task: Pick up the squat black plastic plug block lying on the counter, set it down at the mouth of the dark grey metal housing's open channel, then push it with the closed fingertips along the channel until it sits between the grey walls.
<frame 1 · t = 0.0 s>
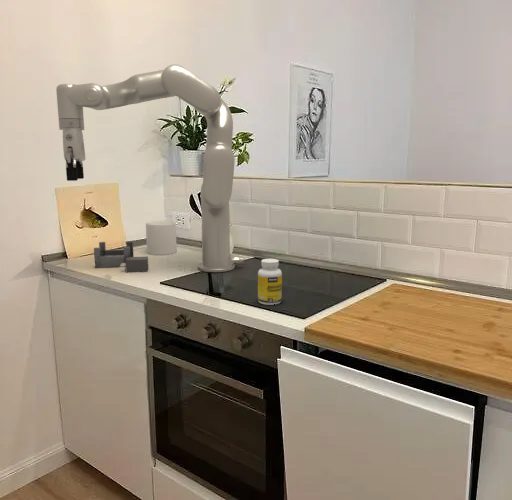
hand: (75, 179, 164), 31 cm above the countertop, fingers open, 9 cm apart
plug: (137, 271, 173), on the countertop
housing: (115, 263, 184), on the countertop
pill bottle: (269, 302, 138), on the countertop
cup: (162, 252, 204), on the countertop
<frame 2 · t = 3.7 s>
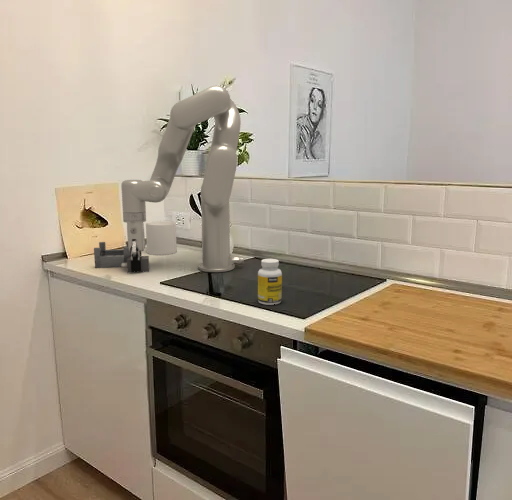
hand: (137, 269, 173), 1 cm above the countertop, fingers closed on plug, 5 cm apart
plug: (138, 270, 173), on the countertop, touching gripper
everything else where it was.
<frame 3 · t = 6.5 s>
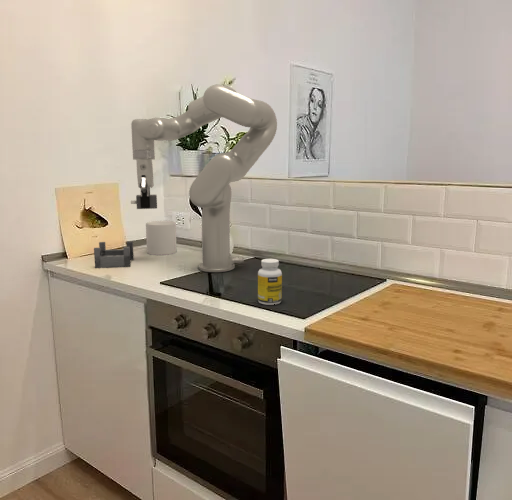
hand: (146, 206, 181), 21 cm above the countertop, fingers closed on plug, 5 cm apart
plug: (147, 207, 182), point 20 cm above the countertop, touching gripper
everything else where it was.
when the fingers open (2 cm above the countertop, at t = 9.6 s): plug drops 1 cm, on the countertop.
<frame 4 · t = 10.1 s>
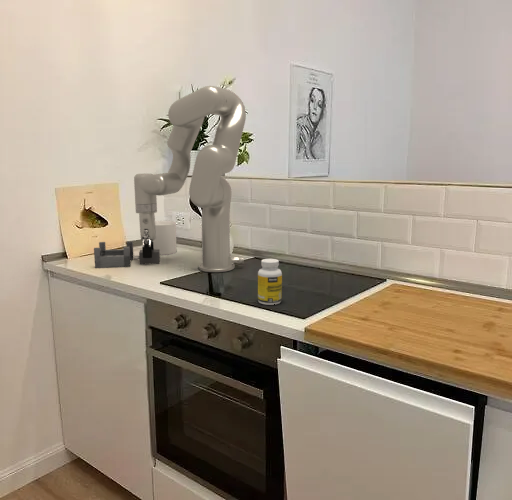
hand: (148, 255, 185), 3 cm above the countertop, fingers open, 9 cm apart
plug: (150, 263, 186), on the countertop
everything else where it was.
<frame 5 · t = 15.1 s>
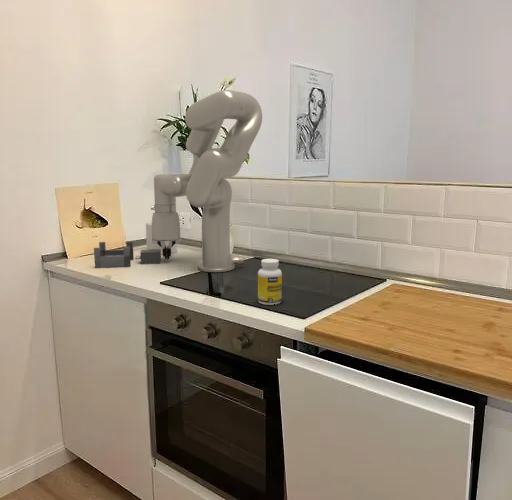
hand: (167, 258, 186), 1 cm above the countertop, fingers closed
plug: (151, 262, 186), on the countertop, touching gripper
everything else where it was.
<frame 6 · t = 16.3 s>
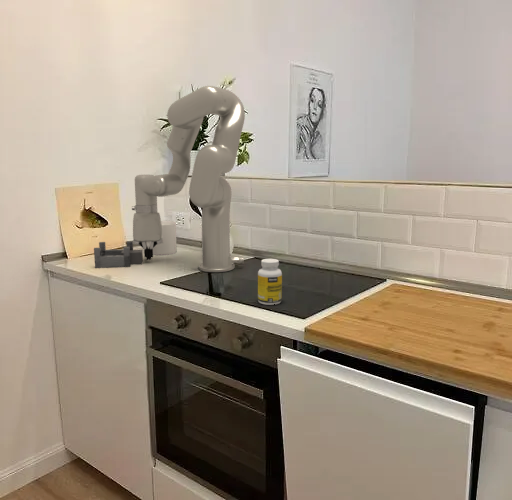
hand: (148, 259, 185), 1 cm above the countertop, fingers closed
plug: (132, 263, 185), on the countertop, touching gripper
everything else where it was.
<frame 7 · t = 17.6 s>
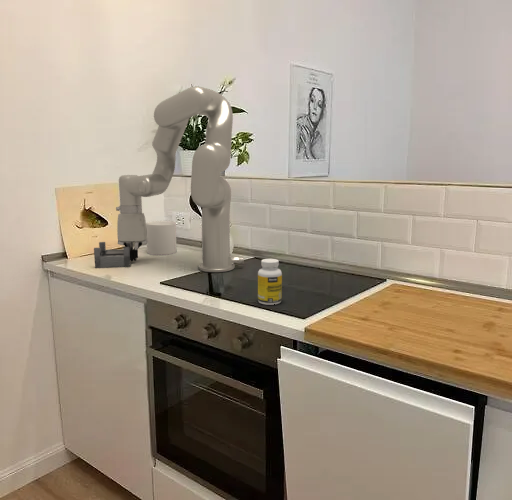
hand: (133, 259, 185), 1 cm above the countertop, fingers closed
plug: (117, 264, 184), on the countertop
everything else where it was.
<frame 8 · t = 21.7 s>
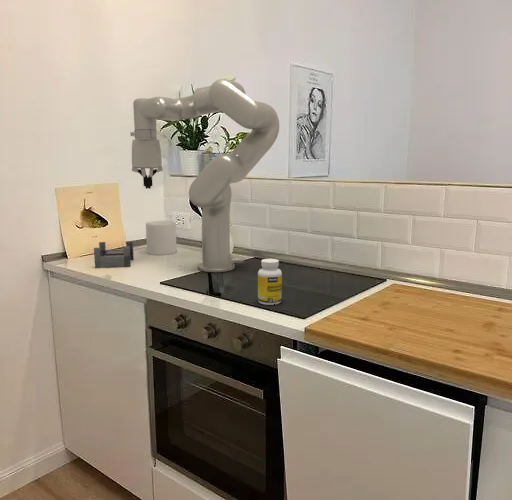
hand: (148, 188, 180), 27 cm above the countertop, fingers closed
nothing on the countertop moved.
at the end: plug inside the target area on the housing (1.1 cm from its centre), point 0.0 cm above the housing's base; plug tilted 0° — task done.
